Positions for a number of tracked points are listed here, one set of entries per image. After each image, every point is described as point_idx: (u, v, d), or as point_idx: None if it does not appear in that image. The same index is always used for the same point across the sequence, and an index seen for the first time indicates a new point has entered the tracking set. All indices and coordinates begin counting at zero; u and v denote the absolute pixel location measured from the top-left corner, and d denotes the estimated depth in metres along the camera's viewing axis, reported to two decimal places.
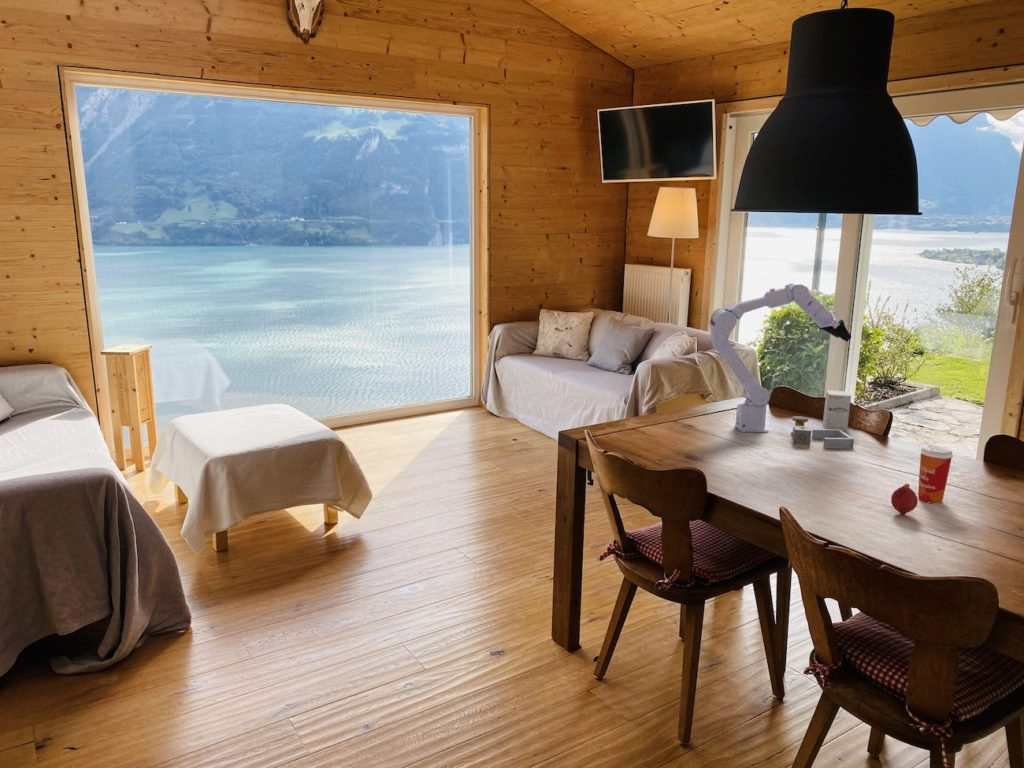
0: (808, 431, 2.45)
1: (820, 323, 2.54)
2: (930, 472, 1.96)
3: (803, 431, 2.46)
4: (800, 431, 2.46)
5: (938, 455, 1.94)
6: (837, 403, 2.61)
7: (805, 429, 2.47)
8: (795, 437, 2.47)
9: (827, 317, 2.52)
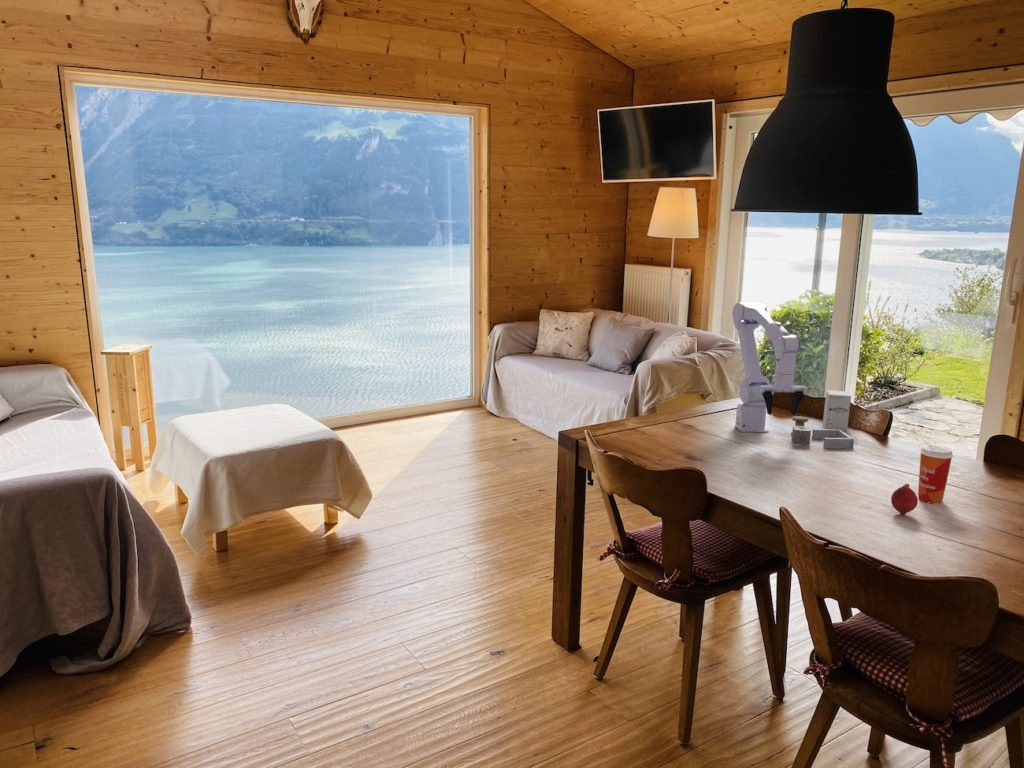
0: (808, 431, 2.45)
1: None
2: (930, 472, 1.96)
3: (803, 431, 2.46)
4: (800, 431, 2.46)
5: (938, 455, 1.94)
6: (837, 403, 2.61)
7: (805, 429, 2.46)
8: (794, 437, 2.47)
9: (775, 383, 2.44)
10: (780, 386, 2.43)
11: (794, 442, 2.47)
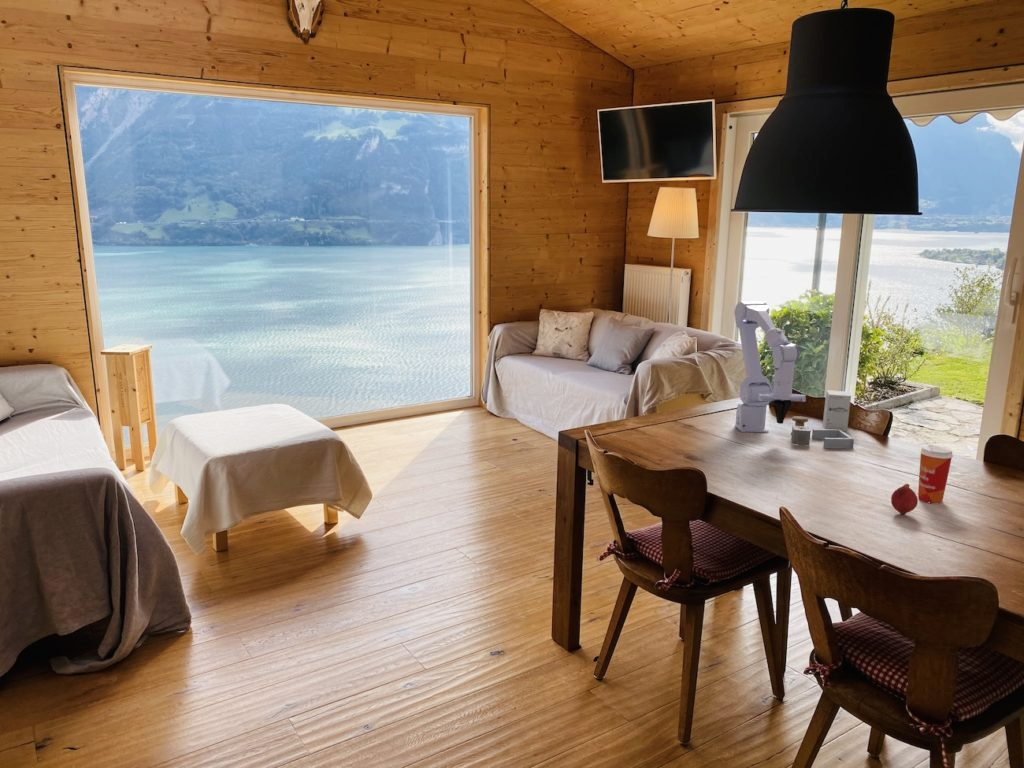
0: (807, 431, 2.45)
1: None
2: (930, 472, 1.96)
3: (802, 431, 2.46)
4: (799, 431, 2.46)
5: (938, 455, 1.94)
6: (837, 403, 2.61)
7: (804, 429, 2.46)
8: (794, 437, 2.47)
9: (774, 392, 2.45)
10: (779, 395, 2.44)
11: (794, 442, 2.47)
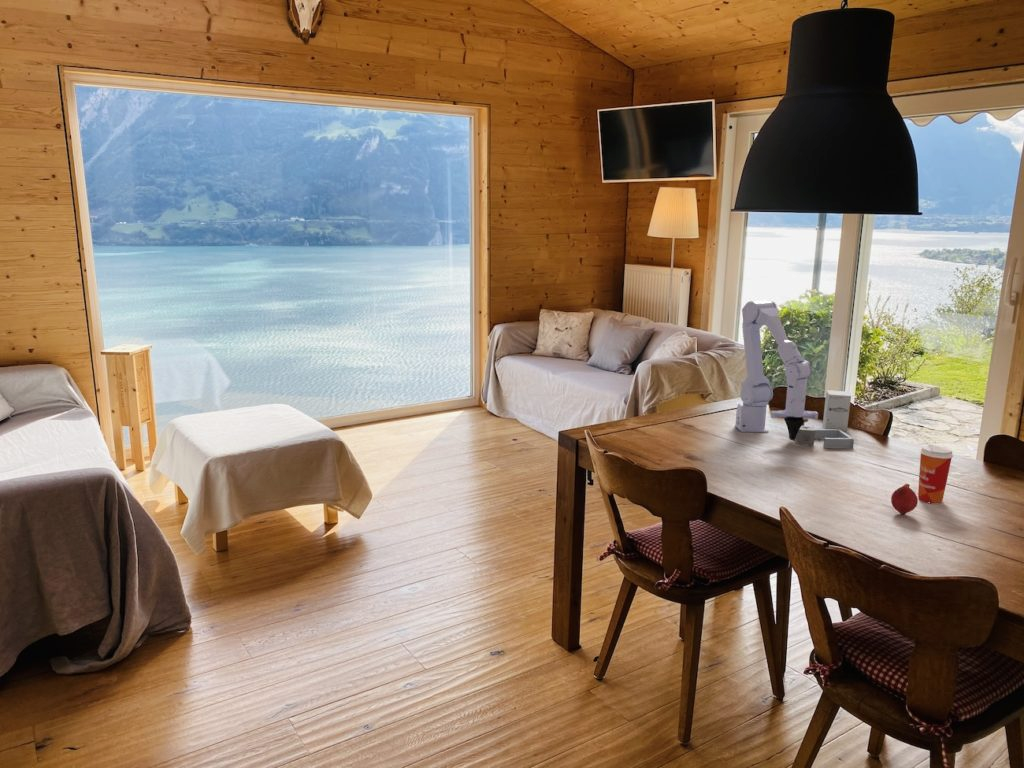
0: (812, 431, 2.45)
1: None
2: (930, 471, 1.96)
3: (807, 431, 2.45)
4: (804, 431, 2.46)
5: (938, 455, 1.94)
6: (837, 403, 2.61)
7: (809, 429, 2.46)
8: (799, 437, 2.46)
9: (786, 409, 2.46)
10: (791, 412, 2.45)
11: (798, 442, 2.47)
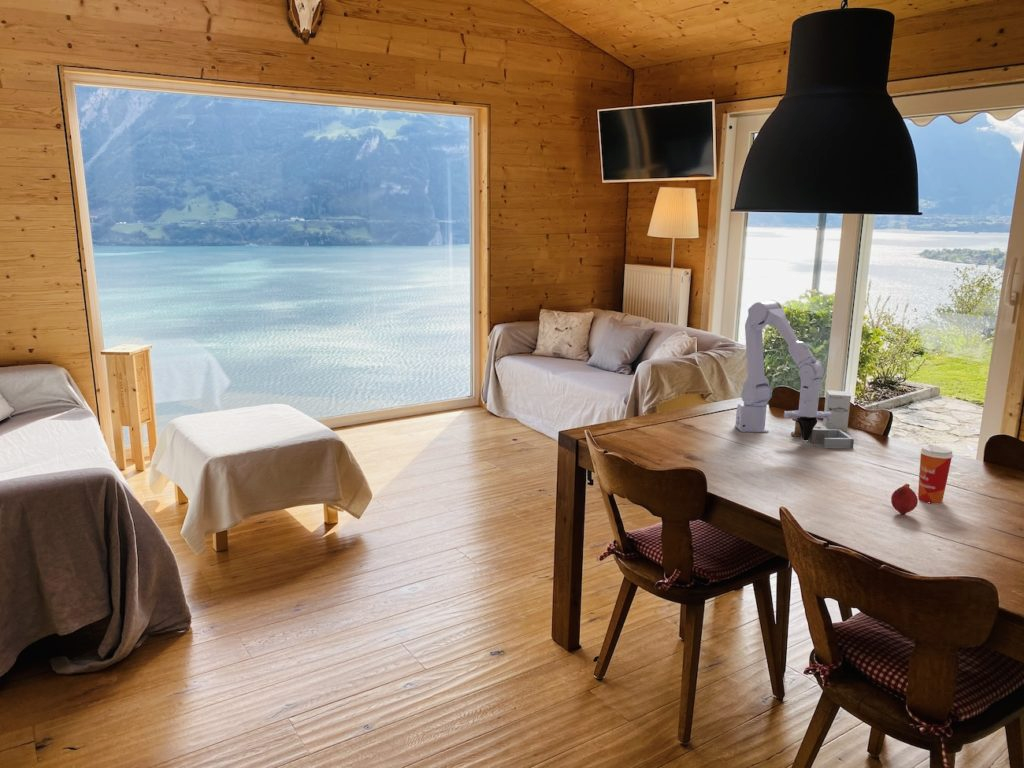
0: (825, 431, 2.46)
1: None
2: (930, 471, 1.96)
3: (821, 431, 2.46)
4: (818, 431, 2.46)
5: (938, 455, 1.94)
6: (837, 403, 2.61)
7: (822, 429, 2.47)
8: (813, 437, 2.46)
9: (799, 409, 2.46)
10: (805, 412, 2.45)
11: (812, 442, 2.47)
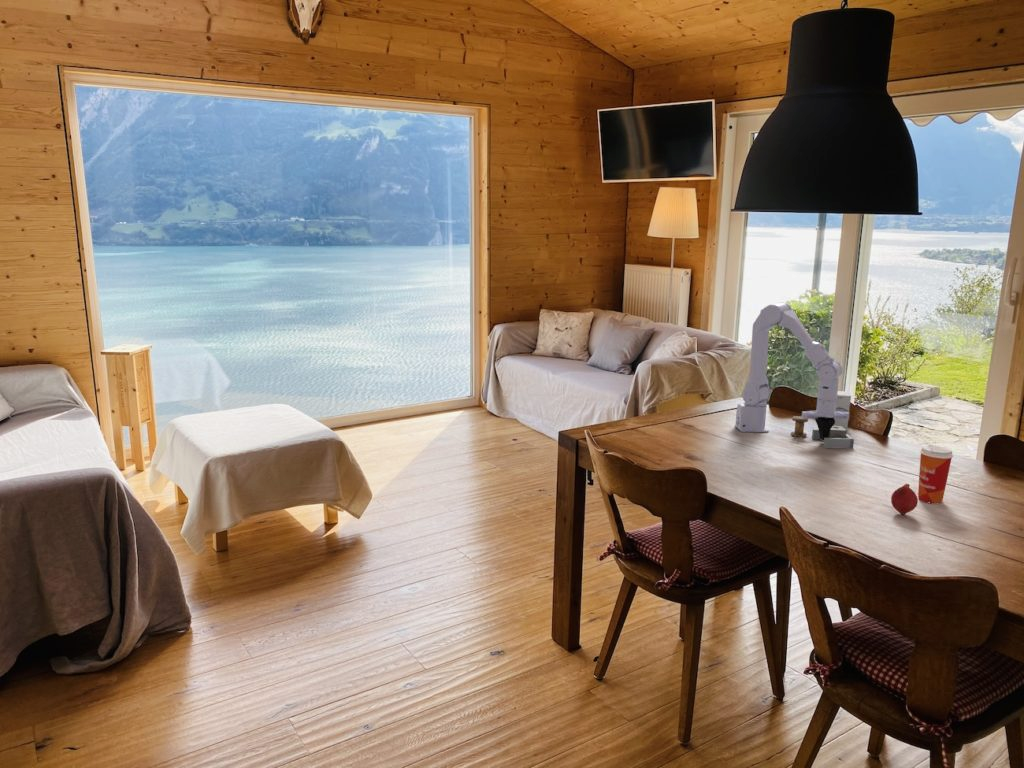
0: (843, 431, 2.46)
1: None
2: (930, 472, 1.96)
3: (838, 431, 2.46)
4: (835, 431, 2.46)
5: (938, 455, 1.94)
6: (837, 403, 2.61)
7: (840, 429, 2.47)
8: (831, 437, 2.46)
9: (817, 409, 2.46)
10: (823, 412, 2.45)
11: None
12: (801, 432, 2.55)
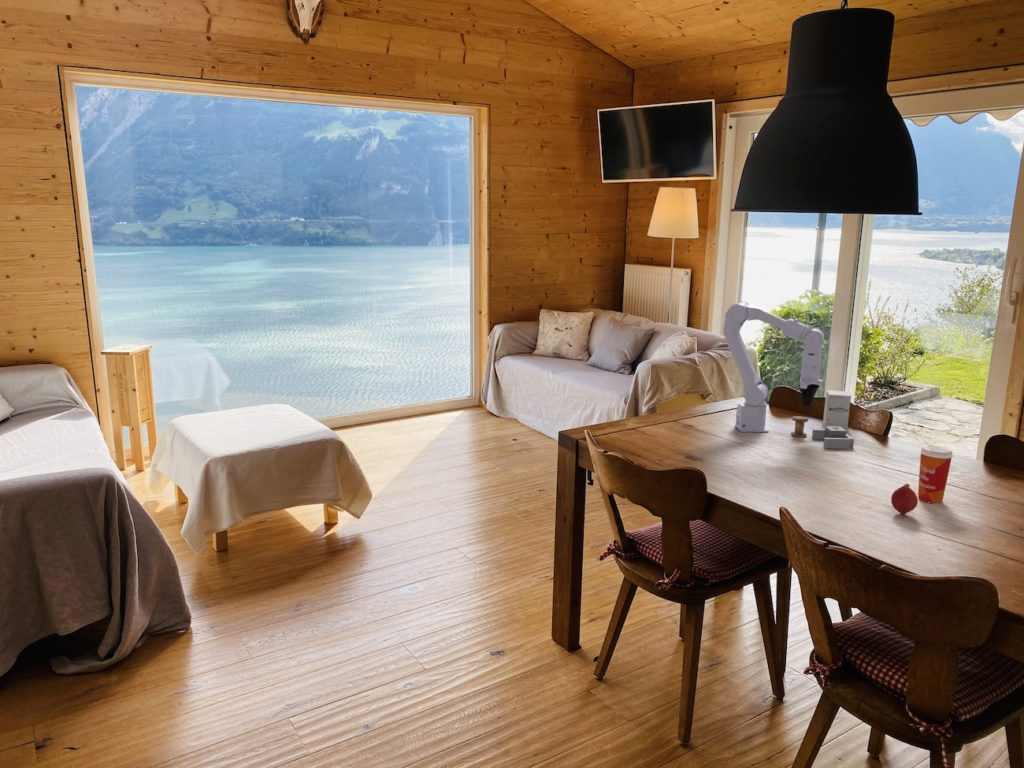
0: (843, 431, 2.45)
1: (801, 376, 2.52)
2: (930, 472, 1.96)
3: (838, 431, 2.46)
4: (835, 432, 2.46)
5: (938, 455, 1.94)
6: (837, 403, 2.61)
7: (839, 429, 2.47)
8: None
9: (809, 377, 2.49)
10: (815, 379, 2.49)
11: None
12: (801, 432, 2.55)
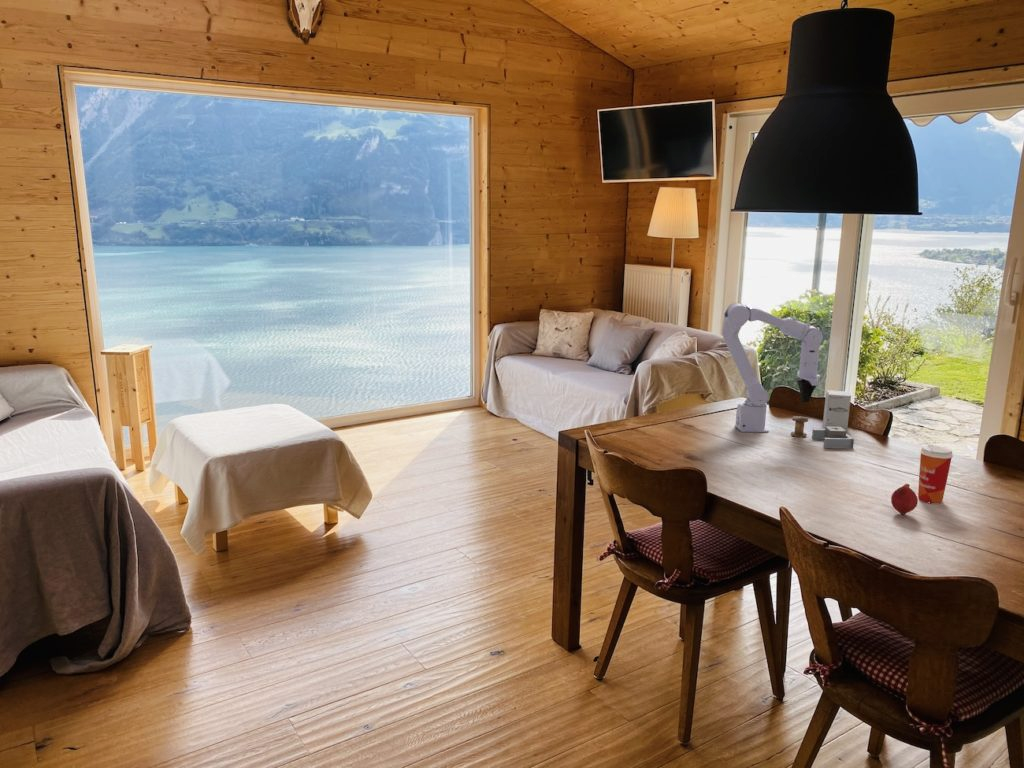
0: (843, 431, 2.45)
1: (803, 373, 2.56)
2: (930, 471, 1.96)
3: (838, 432, 2.45)
4: (835, 432, 2.45)
5: (938, 455, 1.94)
6: (837, 403, 2.61)
7: (839, 430, 2.46)
8: None
9: (812, 374, 2.55)
10: (816, 375, 2.56)
11: None
12: (801, 432, 2.55)
